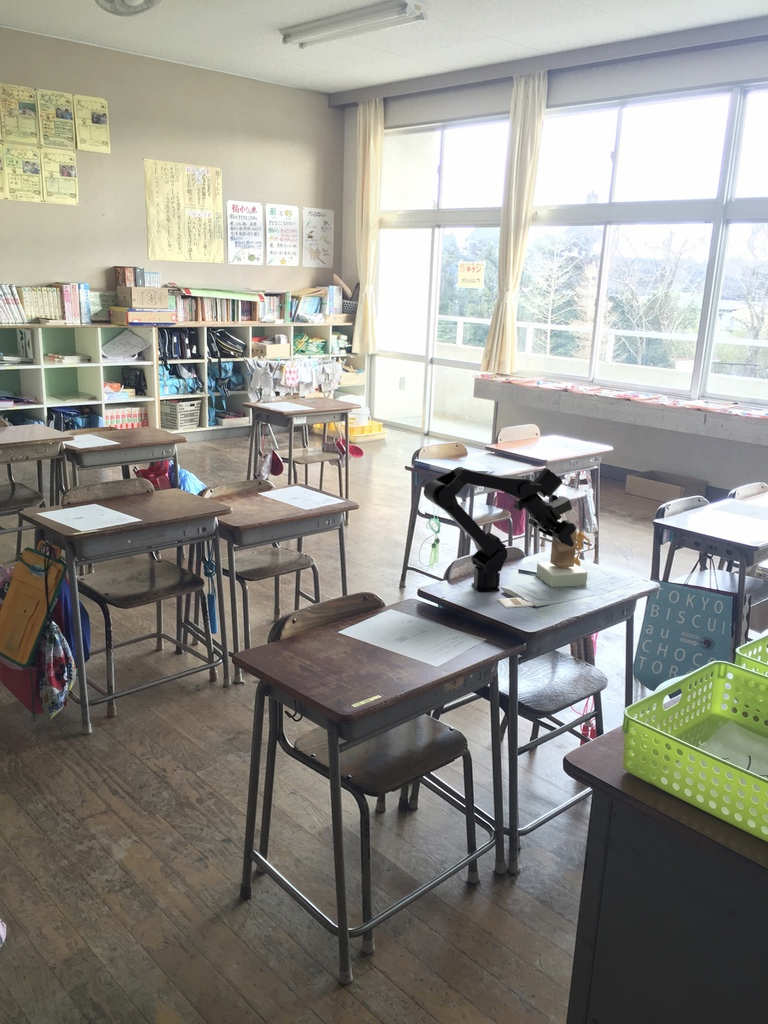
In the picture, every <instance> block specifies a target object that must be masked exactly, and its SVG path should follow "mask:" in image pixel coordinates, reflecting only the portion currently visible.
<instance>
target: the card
mask: <svg viewBox="0 0 768 1024" xmlns="http://www.w3.org/2000/svg"><path fill="white" fill-rule="evenodd" d="M497 601H498V602H499V603H500V604H501V605H502V606H503V607H504V608H506V609H509V608H510V609H511V608H512V609H513V608H524V607H534V604H533V603H532V602H531V601H530V602H527V601H525V600H522V599H521V598H519V597H508V598H507V597H506V598H497Z"/></svg>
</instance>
